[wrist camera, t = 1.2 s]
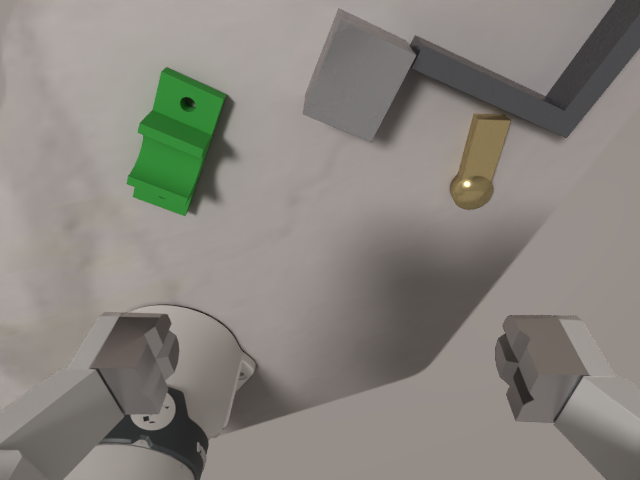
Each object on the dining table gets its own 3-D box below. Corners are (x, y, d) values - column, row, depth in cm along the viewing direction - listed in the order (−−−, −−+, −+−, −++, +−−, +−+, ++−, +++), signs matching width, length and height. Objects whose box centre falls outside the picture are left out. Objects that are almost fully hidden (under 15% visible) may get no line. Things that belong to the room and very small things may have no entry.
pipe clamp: (146, 81, 26) (216, 111, 27) (164, 66, 29) (226, 93, 30) (120, 214, 32) (177, 234, 34) (137, 190, 35) (190, 209, 37)
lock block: (366, 118, 32) (371, 141, 28) (305, 92, 31) (302, 114, 27) (404, 39, 28) (416, 55, 25) (338, 7, 27) (340, 19, 24)
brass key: (482, 202, 36) (486, 210, 35) (446, 201, 36) (449, 208, 35) (510, 115, 31) (516, 120, 30) (468, 113, 31) (473, 119, 30)
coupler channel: (548, 122, 32) (566, 138, 29) (404, 56, 29) (411, 68, 26) (684, -57, 25) (722, -56, 22) (513, -164, 22) (536, -175, 20)
